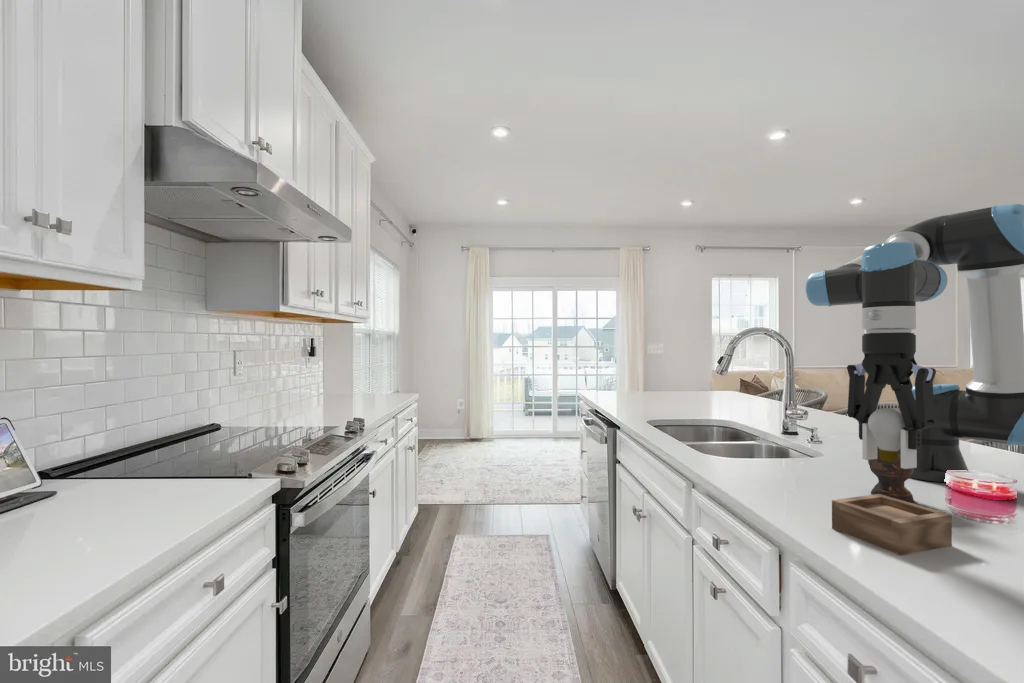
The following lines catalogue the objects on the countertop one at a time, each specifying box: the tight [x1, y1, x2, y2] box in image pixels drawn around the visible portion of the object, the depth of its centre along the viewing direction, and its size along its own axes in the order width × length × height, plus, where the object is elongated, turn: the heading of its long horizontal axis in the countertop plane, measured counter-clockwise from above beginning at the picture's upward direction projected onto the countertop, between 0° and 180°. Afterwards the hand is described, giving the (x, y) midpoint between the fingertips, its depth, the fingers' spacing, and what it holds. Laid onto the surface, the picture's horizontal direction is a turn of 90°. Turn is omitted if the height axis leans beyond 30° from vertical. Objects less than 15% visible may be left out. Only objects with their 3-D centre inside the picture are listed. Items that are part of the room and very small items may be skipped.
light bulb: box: [868, 407, 906, 465], centre depth 86 cm, size 6×6×10 cm
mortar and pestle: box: [867, 446, 914, 503], centre depth 106 cm, size 12×9×20 cm
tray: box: [831, 494, 953, 556], centre depth 86 cm, size 12×12×5 cm
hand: (888, 462), depth 86 cm, fingers closed on light bulb, 6 cm apart
